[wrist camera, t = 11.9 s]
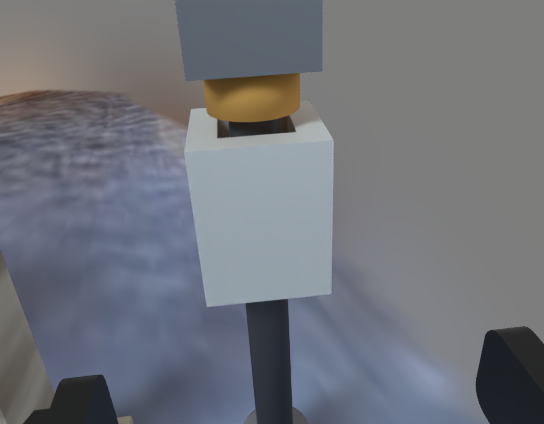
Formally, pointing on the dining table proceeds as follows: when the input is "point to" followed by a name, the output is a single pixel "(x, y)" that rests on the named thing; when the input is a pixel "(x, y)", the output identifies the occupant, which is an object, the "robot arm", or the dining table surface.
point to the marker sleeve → (262, 208)
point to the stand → (21, 361)
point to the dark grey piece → (255, 132)
